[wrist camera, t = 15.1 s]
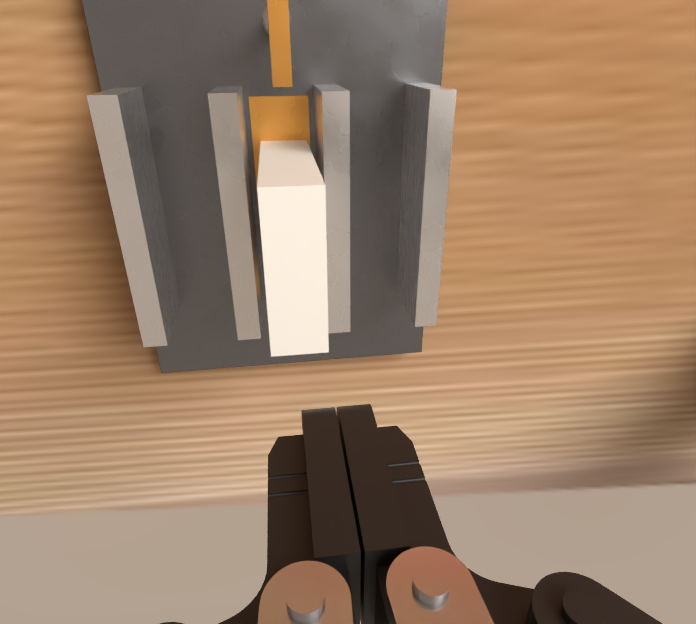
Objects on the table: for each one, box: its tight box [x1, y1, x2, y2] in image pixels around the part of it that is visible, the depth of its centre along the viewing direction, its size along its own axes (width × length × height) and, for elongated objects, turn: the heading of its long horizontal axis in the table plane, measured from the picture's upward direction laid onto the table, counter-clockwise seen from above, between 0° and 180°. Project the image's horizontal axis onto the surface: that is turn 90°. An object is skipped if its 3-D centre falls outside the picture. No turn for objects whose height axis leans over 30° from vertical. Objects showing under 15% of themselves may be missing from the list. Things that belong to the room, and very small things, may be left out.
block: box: [257, 140, 329, 357], centre depth 24 cm, size 2×7×10 cm, turn 0°
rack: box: [82, 0, 457, 373], centre depth 24 cm, size 17×21×12 cm
